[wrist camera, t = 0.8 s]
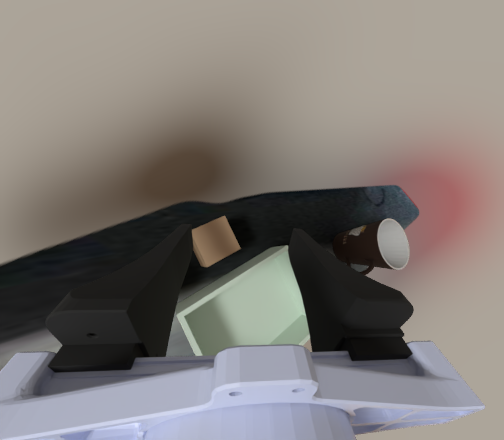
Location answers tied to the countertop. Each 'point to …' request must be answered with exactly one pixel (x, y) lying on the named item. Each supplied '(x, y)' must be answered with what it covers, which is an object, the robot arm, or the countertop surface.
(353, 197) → the countertop surface
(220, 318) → the green tote
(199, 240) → the brown cube
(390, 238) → the coffee mug
